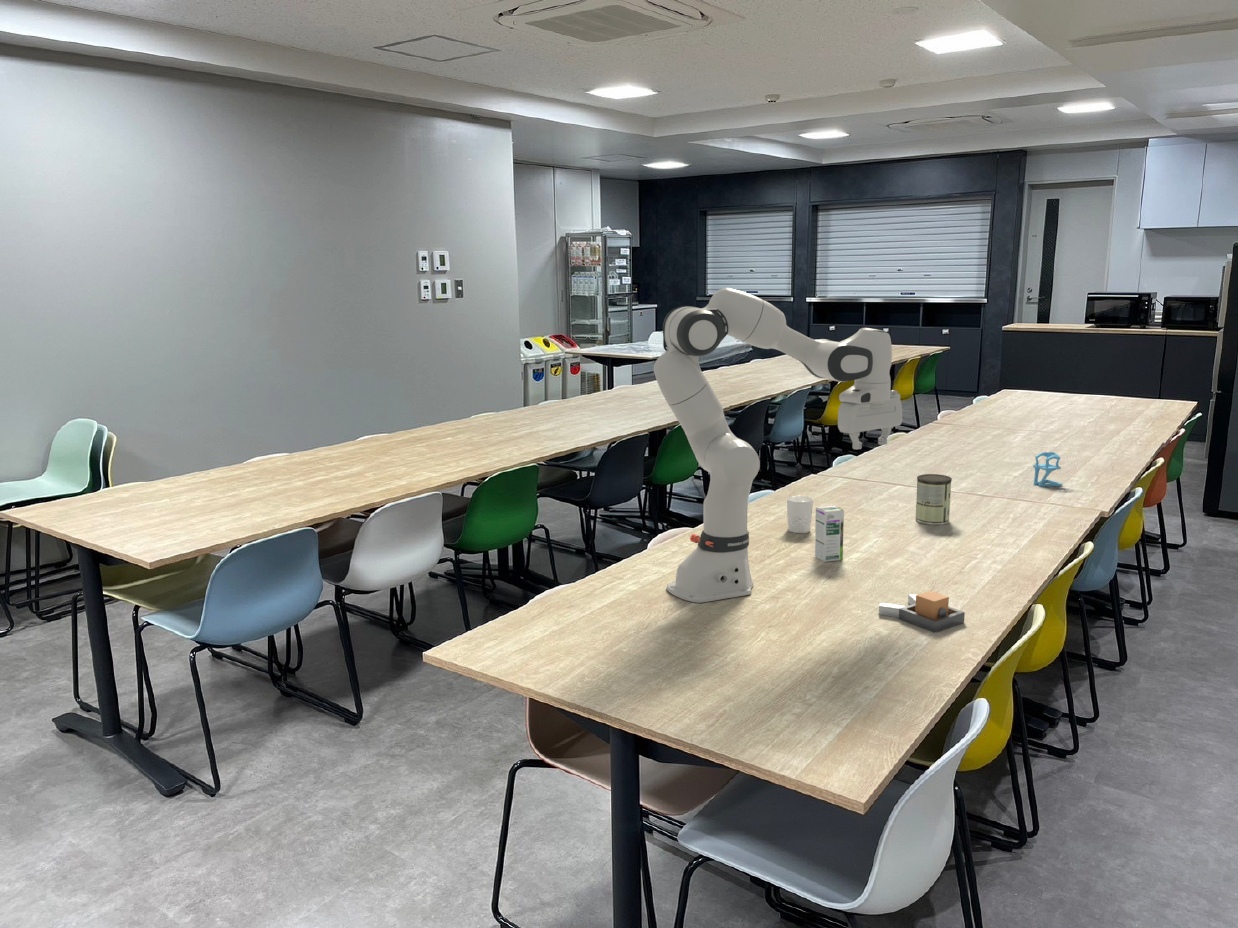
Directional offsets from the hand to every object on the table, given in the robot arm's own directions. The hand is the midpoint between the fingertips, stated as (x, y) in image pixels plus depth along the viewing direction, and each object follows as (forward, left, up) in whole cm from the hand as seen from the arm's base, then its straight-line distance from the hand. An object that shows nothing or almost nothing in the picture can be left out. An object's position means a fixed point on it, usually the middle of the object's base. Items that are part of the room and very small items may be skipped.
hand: (869, 446), depth 230 cm
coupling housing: (-12, -28, -34) cm, 46 cm away
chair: (+128, +30, -34) cm, 136 cm away
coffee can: (+56, +23, -34) cm, 70 cm away
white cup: (+15, +40, -34) cm, 55 cm away
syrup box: (+2, +15, -34) cm, 38 cm away
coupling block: (-13, -31, -34) cm, 48 cm away
